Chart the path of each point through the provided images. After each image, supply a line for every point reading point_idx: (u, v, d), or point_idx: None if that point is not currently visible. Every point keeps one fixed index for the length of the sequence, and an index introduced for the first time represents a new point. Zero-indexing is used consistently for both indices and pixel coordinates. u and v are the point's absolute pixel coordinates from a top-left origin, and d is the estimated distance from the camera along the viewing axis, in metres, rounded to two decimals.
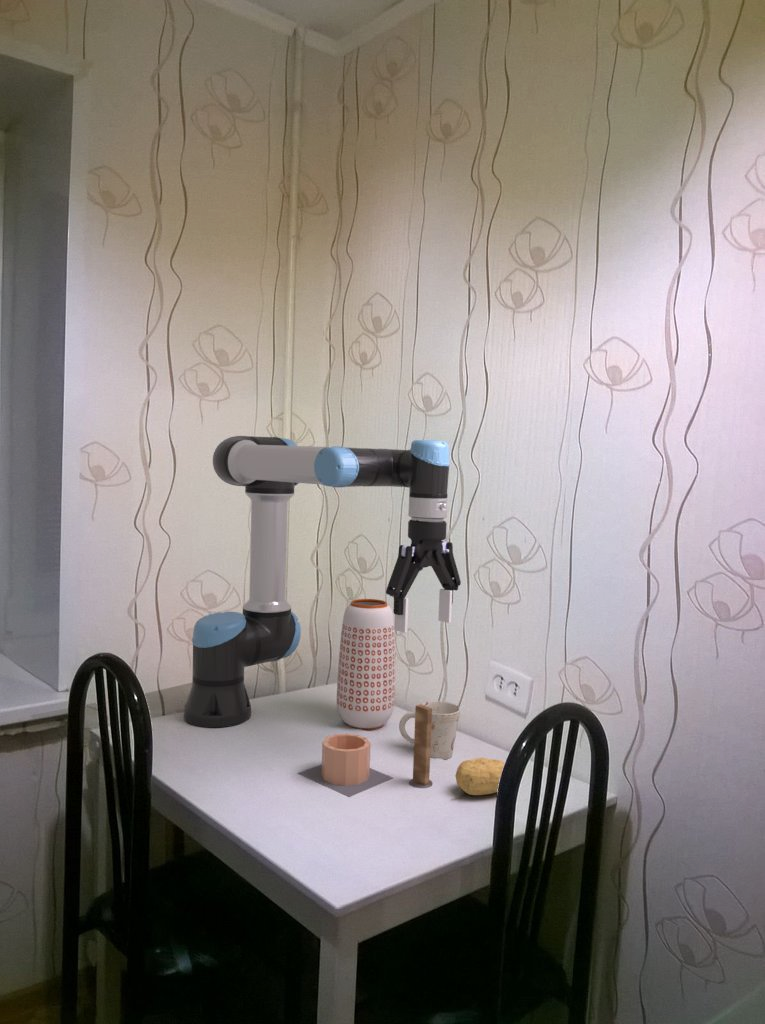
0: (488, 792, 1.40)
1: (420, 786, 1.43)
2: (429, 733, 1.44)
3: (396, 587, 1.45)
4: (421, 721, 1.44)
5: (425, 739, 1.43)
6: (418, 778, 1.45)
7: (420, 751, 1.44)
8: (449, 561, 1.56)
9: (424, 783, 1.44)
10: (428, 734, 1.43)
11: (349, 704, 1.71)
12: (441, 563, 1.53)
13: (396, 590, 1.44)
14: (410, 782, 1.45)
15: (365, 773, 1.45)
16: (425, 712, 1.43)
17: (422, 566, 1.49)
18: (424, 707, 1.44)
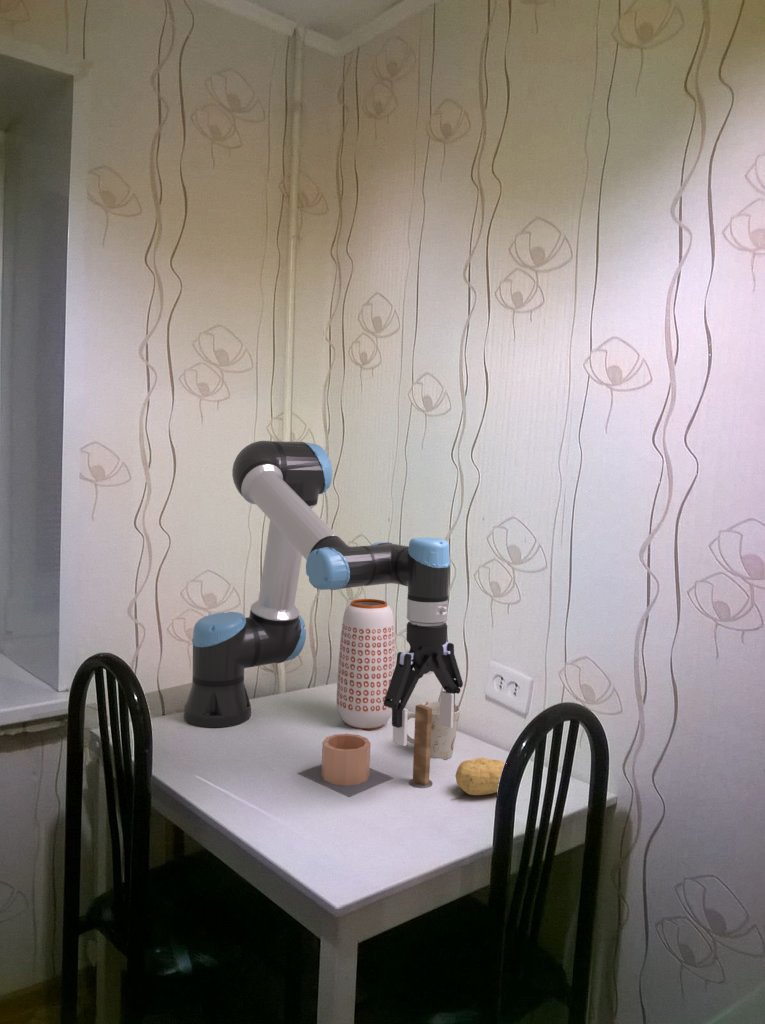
0: (488, 792, 1.40)
1: (420, 786, 1.43)
2: (429, 733, 1.44)
3: (394, 699, 1.36)
4: (421, 721, 1.44)
5: (425, 739, 1.43)
6: (418, 778, 1.45)
7: (420, 751, 1.44)
8: (450, 663, 1.48)
9: (424, 783, 1.44)
10: (428, 734, 1.43)
11: (349, 704, 1.71)
12: (442, 667, 1.44)
13: (394, 703, 1.36)
14: (410, 782, 1.45)
15: (365, 773, 1.45)
16: (425, 712, 1.43)
17: (422, 674, 1.40)
18: (424, 707, 1.44)
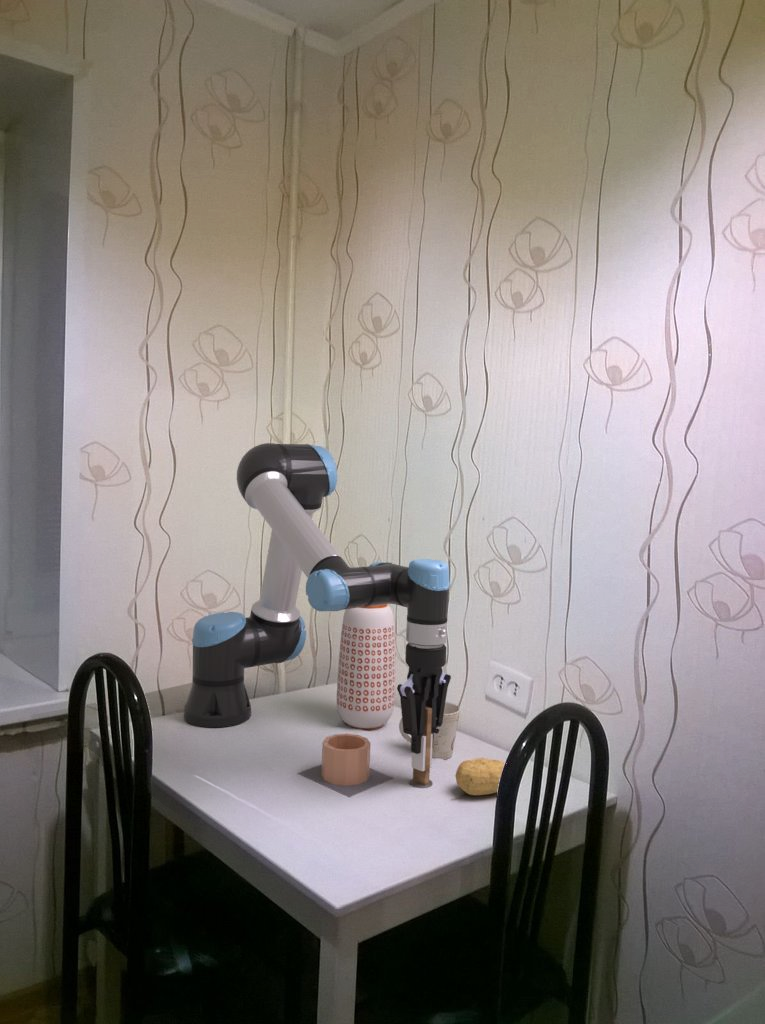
0: (488, 792, 1.40)
1: (421, 786, 1.43)
2: (429, 733, 1.44)
3: (412, 729, 1.40)
4: None
5: None
6: (418, 778, 1.45)
7: None
8: (441, 694, 1.46)
9: (424, 783, 1.44)
10: (428, 734, 1.43)
11: (349, 704, 1.71)
12: (435, 693, 1.44)
13: (413, 732, 1.41)
14: (410, 782, 1.45)
15: (365, 773, 1.45)
16: (425, 712, 1.43)
17: (427, 697, 1.42)
18: None
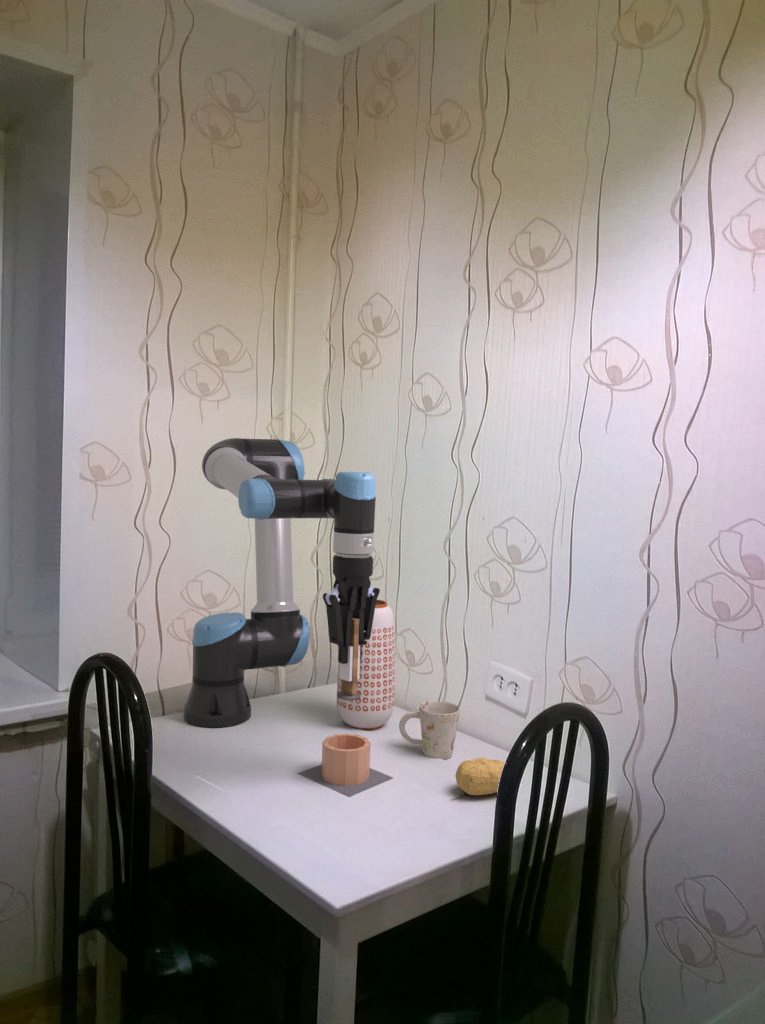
0: (488, 792, 1.40)
1: (348, 697, 1.44)
2: (356, 644, 1.45)
3: (337, 638, 1.41)
4: None
5: None
6: (346, 689, 1.46)
7: None
8: (369, 606, 1.47)
9: (351, 693, 1.45)
10: (356, 644, 1.44)
11: (349, 704, 1.71)
12: (362, 604, 1.45)
13: (339, 641, 1.42)
14: (338, 693, 1.46)
15: (365, 773, 1.45)
16: (352, 623, 1.44)
17: (353, 607, 1.43)
18: None
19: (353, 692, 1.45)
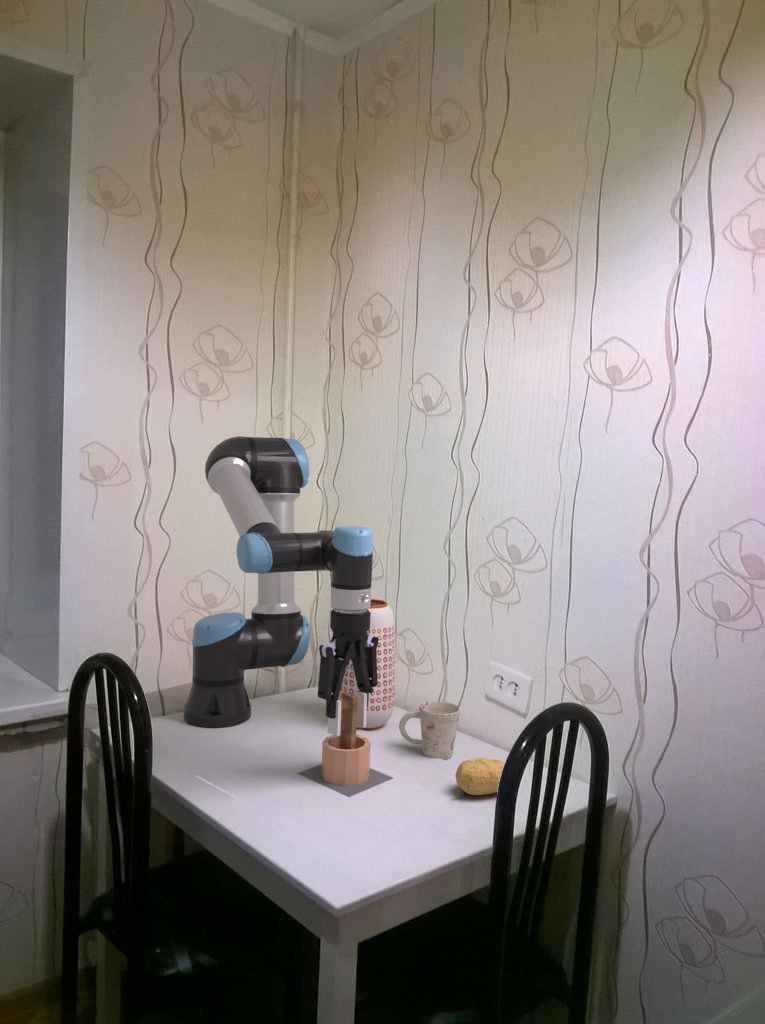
0: (488, 792, 1.40)
1: None
2: (354, 720, 1.45)
3: (326, 692, 1.40)
4: (347, 709, 1.45)
5: (350, 726, 1.45)
6: None
7: (346, 738, 1.46)
8: (371, 657, 1.49)
9: None
10: (354, 721, 1.45)
11: None
12: (362, 657, 1.46)
13: (326, 695, 1.40)
14: None
15: (365, 773, 1.45)
16: (351, 700, 1.45)
17: (347, 662, 1.43)
18: (350, 695, 1.45)
19: None
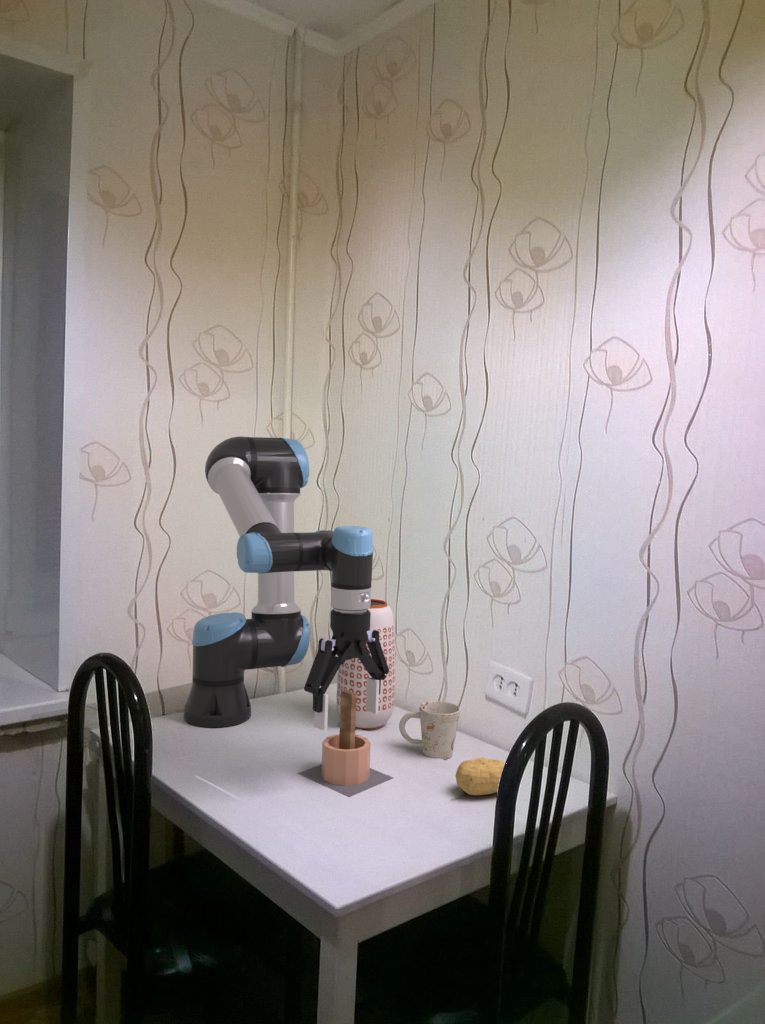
0: (488, 792, 1.40)
1: None
2: (353, 718, 1.46)
3: (314, 685, 1.38)
4: (346, 706, 1.47)
5: (349, 723, 1.46)
6: None
7: (345, 736, 1.47)
8: (376, 650, 1.50)
9: None
10: (353, 718, 1.46)
11: None
12: (366, 654, 1.47)
13: (314, 688, 1.38)
14: None
15: (365, 773, 1.45)
16: (349, 697, 1.46)
17: (343, 660, 1.42)
18: (349, 692, 1.47)
19: None
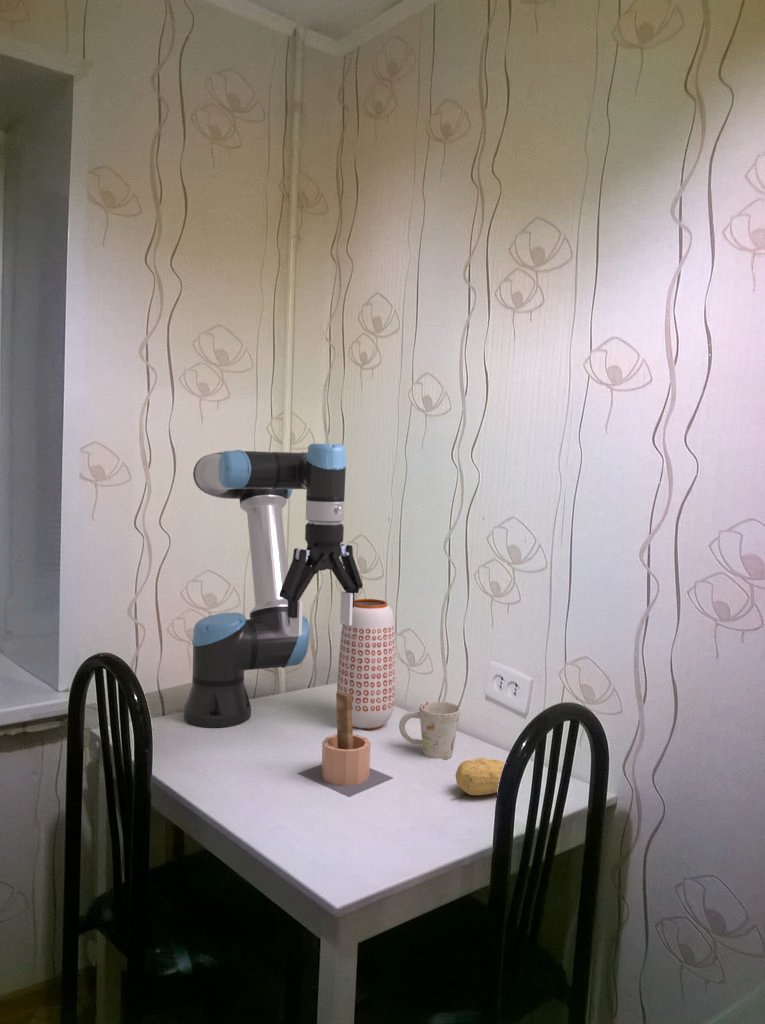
0: (488, 792, 1.40)
1: None
2: (350, 719, 1.46)
3: (288, 590, 1.45)
4: (342, 708, 1.46)
5: (346, 725, 1.45)
6: None
7: (343, 737, 1.46)
8: (349, 564, 1.57)
9: None
10: (349, 720, 1.45)
11: None
12: (339, 566, 1.54)
13: (288, 593, 1.45)
14: None
15: (365, 773, 1.45)
16: (345, 699, 1.45)
17: (317, 569, 1.49)
18: (344, 694, 1.46)
19: None
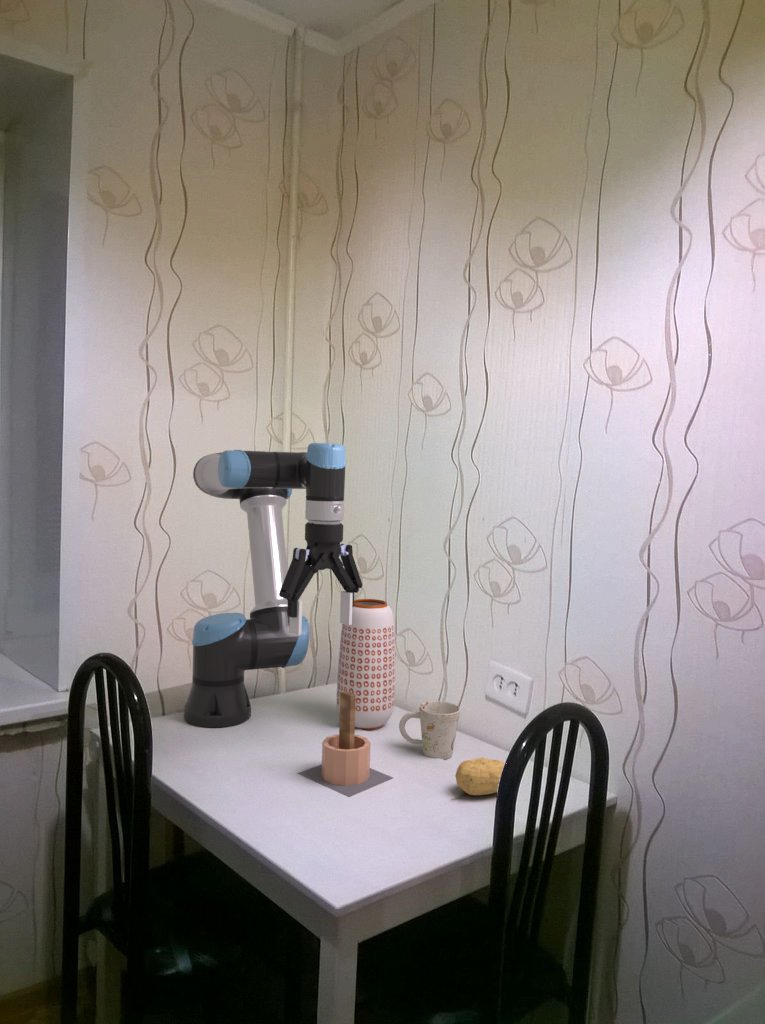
0: (488, 792, 1.40)
1: None
2: (353, 719, 1.46)
3: (288, 590, 1.45)
4: (345, 707, 1.46)
5: (349, 724, 1.46)
6: None
7: (344, 737, 1.47)
8: (349, 563, 1.57)
9: None
10: (352, 719, 1.46)
11: None
12: (339, 566, 1.54)
13: (288, 593, 1.45)
14: None
15: (365, 773, 1.45)
16: (348, 698, 1.46)
17: (317, 569, 1.49)
18: (348, 693, 1.46)
19: None
